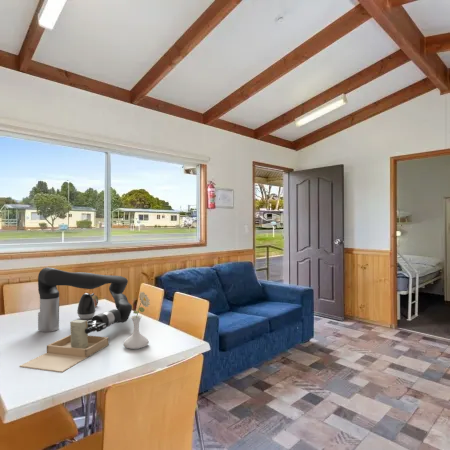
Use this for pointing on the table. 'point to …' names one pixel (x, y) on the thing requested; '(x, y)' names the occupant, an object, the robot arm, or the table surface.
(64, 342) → the box
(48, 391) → the table surface
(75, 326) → the skincare box
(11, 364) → the table surface
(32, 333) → the table surface
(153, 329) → the table surface
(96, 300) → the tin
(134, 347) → the flower in vase
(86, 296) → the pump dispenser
